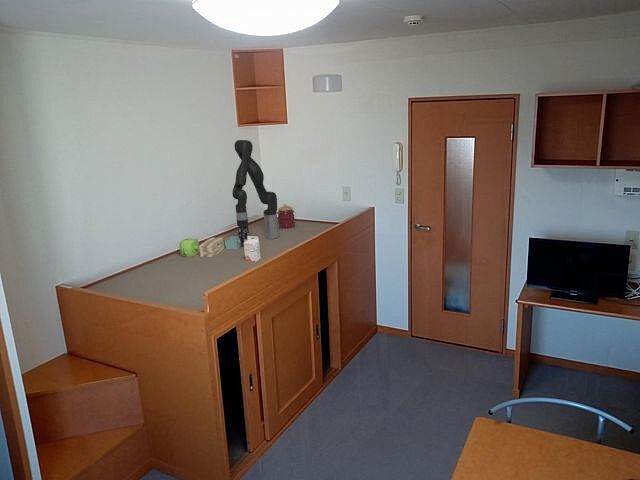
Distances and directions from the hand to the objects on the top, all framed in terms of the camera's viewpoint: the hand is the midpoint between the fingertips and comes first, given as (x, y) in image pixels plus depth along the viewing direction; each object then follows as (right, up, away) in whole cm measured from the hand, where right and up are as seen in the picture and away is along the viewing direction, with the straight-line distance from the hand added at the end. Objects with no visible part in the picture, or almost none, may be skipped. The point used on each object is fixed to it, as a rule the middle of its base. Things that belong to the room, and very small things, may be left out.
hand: (244, 241), depth 366 cm
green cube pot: (-34, -9, -10) cm, 37 cm away
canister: (+26, +11, +49) cm, 57 cm away
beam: (-20, -7, -9) cm, 23 cm away
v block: (-7, -3, +2) cm, 8 cm away
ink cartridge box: (+10, -11, -32) cm, 36 cm away
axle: (-6, -1, +2) cm, 6 cm away
